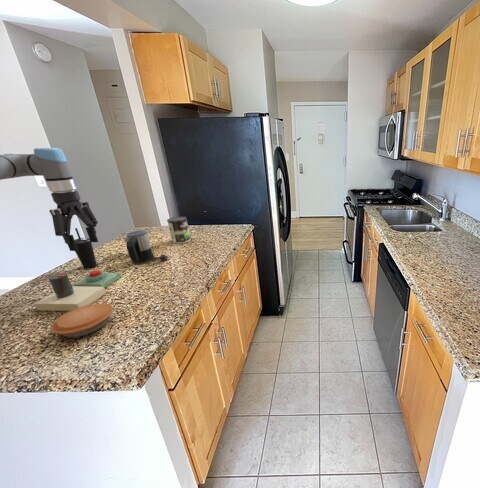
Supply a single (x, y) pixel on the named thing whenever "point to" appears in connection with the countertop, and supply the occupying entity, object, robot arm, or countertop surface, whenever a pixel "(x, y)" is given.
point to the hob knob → (61, 285)
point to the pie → (83, 320)
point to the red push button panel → (98, 280)
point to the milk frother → (140, 247)
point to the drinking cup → (85, 252)
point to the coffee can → (179, 229)
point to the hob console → (71, 299)
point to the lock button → (95, 273)
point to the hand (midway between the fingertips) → (84, 246)
